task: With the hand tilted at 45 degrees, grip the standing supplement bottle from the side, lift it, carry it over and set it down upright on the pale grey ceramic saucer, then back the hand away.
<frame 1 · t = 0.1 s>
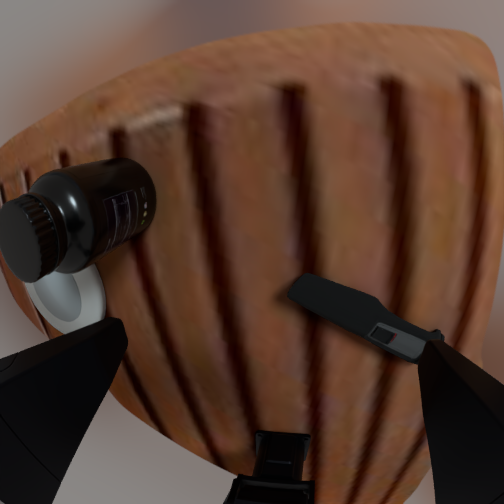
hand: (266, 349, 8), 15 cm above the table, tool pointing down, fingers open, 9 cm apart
supplement bottle: (126, 196, 23), on the table
electric trimmer: (373, 316, 23), on the table
saucer: (62, 282, 28), on the table
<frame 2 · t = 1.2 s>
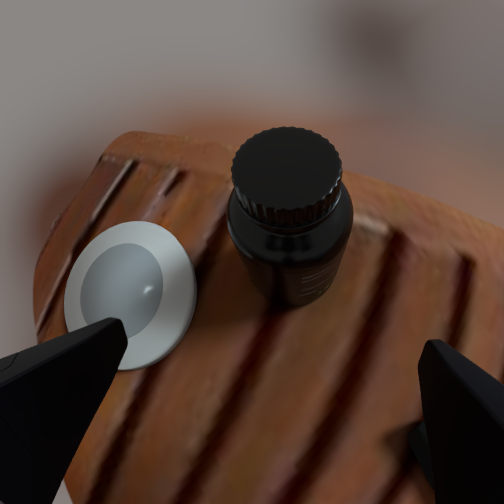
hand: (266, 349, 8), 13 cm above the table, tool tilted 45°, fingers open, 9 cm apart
supplement bottle: (293, 267, 23), on the table
electric trimmer: (449, 480, 13), on the table
saucer: (127, 295, 24), on the table
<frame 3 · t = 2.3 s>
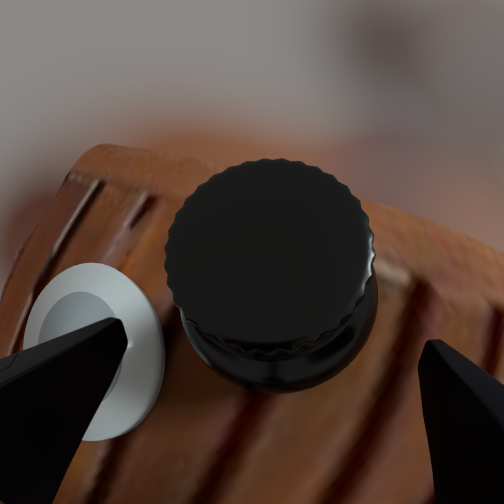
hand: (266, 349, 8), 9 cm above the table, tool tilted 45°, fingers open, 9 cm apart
supplement bottle: (286, 331, 17), on the table
saucer: (88, 352, 18), on the table
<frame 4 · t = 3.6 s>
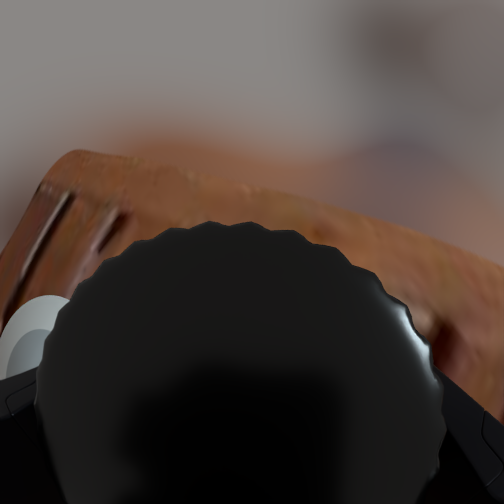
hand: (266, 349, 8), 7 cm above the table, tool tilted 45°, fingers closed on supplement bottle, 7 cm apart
supplement bottle: (278, 390, 13), on the table, touching gripper
saucer: (56, 395, 14), on the table
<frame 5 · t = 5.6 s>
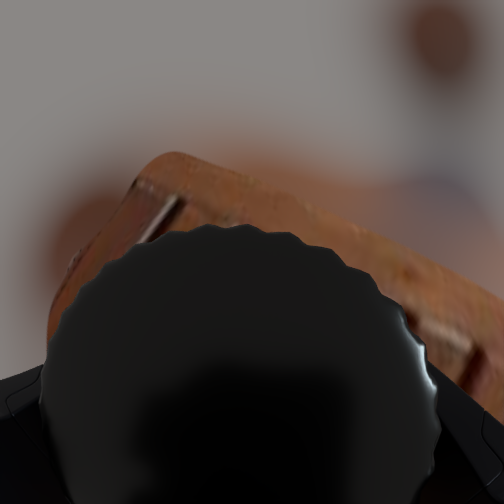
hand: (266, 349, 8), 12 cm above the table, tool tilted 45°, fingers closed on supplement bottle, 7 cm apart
supplement bottle: (283, 389, 13), point 5 cm above the table, touching gripper
when the fingers open (9 cm above the table, at t = 7.4 s): supplement bottle stays where it is, resting on saucer.
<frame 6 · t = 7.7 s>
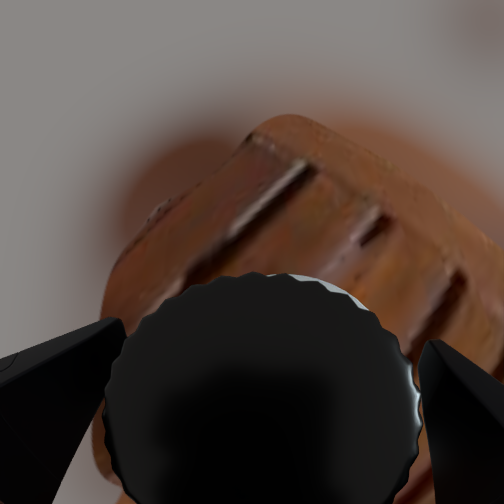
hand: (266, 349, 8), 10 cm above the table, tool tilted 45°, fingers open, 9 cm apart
supplement bottle: (285, 391, 14), point 2 cm above the table, touching saucer
saucer: (280, 387, 16), on the table
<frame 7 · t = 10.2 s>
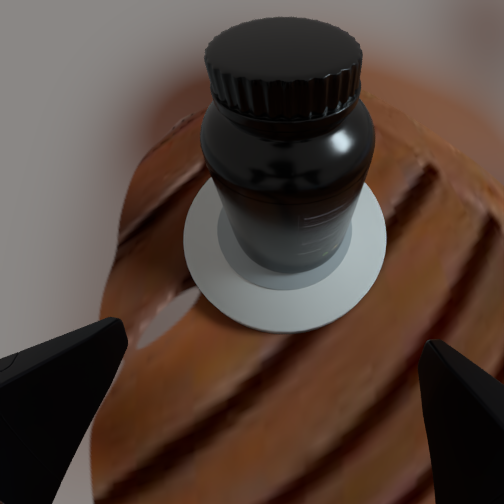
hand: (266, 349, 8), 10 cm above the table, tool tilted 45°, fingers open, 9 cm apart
supplement bottle: (290, 226, 18), point 2 cm above the table, touching saucer
saucer: (285, 235, 20), on the table
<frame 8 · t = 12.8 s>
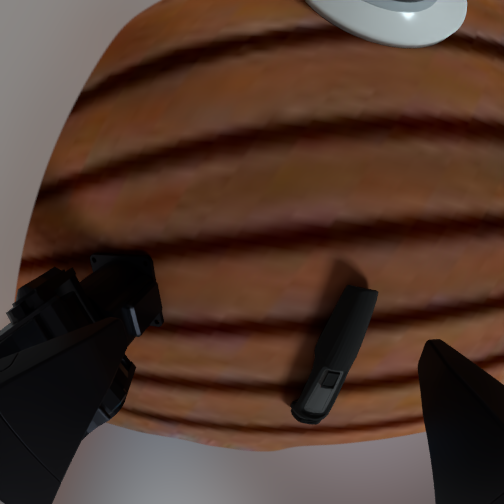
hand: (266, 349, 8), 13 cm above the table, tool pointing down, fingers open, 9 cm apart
electric trimmer: (328, 354, 24), on the table
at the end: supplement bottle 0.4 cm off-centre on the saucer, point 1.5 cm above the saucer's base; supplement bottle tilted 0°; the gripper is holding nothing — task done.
